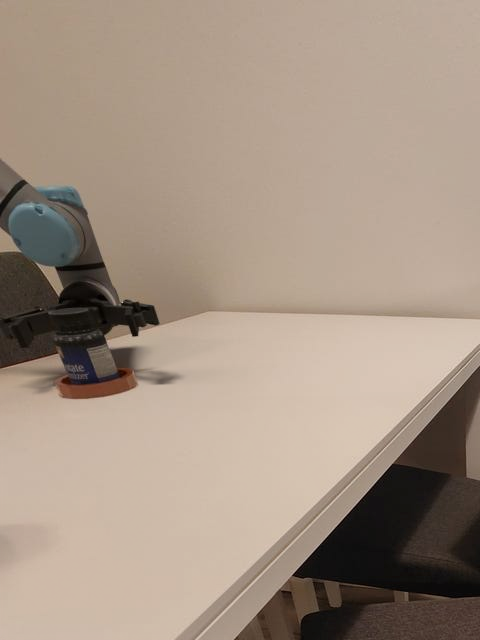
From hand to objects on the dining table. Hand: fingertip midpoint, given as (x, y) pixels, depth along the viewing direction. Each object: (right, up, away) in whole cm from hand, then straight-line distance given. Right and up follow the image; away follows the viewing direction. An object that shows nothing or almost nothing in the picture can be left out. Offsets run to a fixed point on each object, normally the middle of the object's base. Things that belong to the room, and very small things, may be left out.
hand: (76, 331), depth 80 cm
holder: (+1, -8, +4) cm, 9 cm away
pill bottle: (+1, -8, +4) cm, 9 cm away
